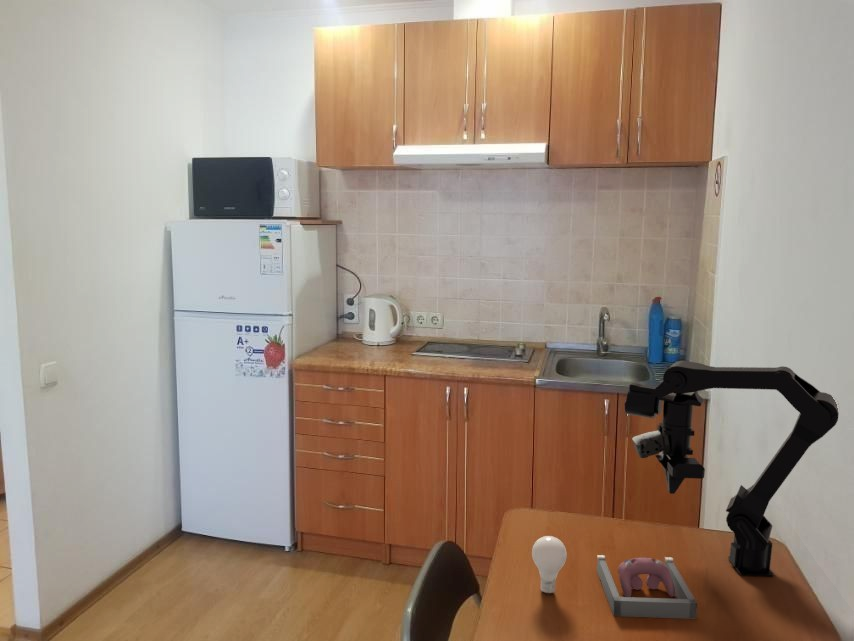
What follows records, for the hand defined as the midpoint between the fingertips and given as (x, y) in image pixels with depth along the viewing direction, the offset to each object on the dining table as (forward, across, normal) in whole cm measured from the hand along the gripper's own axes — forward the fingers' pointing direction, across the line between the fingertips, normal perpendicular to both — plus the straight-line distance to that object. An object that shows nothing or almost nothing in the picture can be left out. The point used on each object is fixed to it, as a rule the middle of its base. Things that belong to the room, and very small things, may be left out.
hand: (671, 492), depth 141 cm
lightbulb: (+12, +19, -28) cm, 36 cm away
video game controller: (+12, +17, -9) cm, 23 cm away
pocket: (+12, +18, -10) cm, 23 cm away
